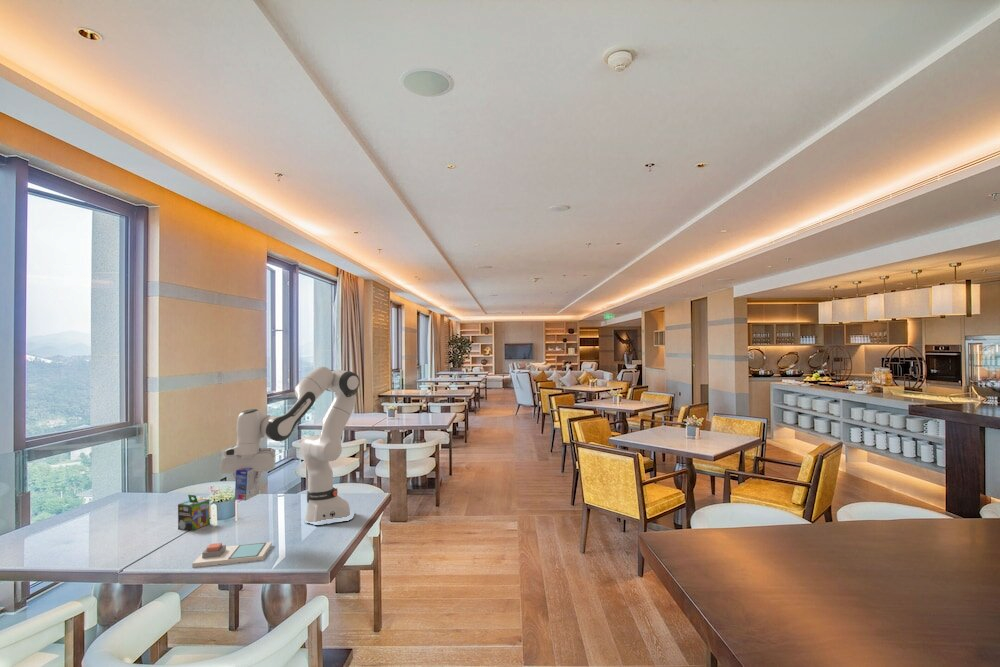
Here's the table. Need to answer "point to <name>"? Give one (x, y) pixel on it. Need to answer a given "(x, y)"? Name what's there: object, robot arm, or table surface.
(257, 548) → the picture board
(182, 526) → the chalk box
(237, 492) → the ink cartridge box
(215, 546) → the button
